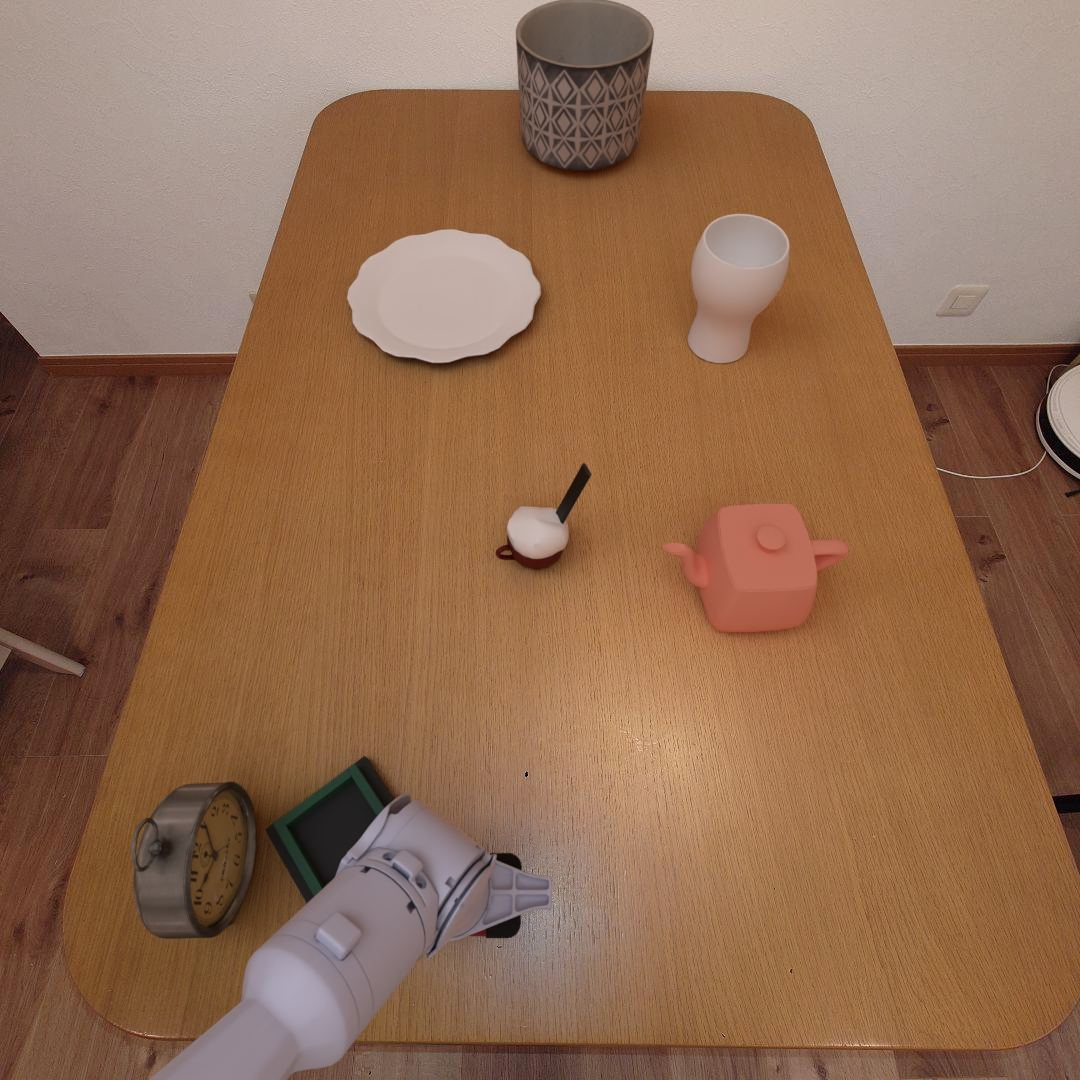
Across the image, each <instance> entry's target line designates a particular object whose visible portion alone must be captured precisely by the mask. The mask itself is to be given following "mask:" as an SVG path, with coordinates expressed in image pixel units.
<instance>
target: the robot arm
mask: <svg viewBox="0 0 1080 1080" xmlns="http://www.w3.org/2000/svg"><path fill="white" fill-rule="evenodd" d="M394 799H395V800H393V801H392V802H391V803H390V804H388V805H387V806H386V807H385V808H384V809H383V810H382V812H381V813H380V814H379V815H378V816H377V817H376V818H375V820H374V821H373V822H372V823H371V825H370V826H369V827H368V828H367V830H366V831H365V832H364V834H363V835H362V837H361V838H360V839H359V840H358V842H357V843H356V844H355V845H354V846H353V847H352V848H351V849H350V850H349V851H348V852H347V854H346V855H345V856H344V857H343V858H342V860H341V862H340V865H339V867H338V870H337V873H336V875H335V878H334V879H333V880H332V881H331V882H329V883H328V884H327V885H326V886H325V887H324V888H323V889H322V890H321V891H320V892H319V893H318V894H317V895H315V896H314V897H313V898H312V899H311V900H310V901H309V902H308V903H306V904H305V905H304V906H302V907H301V908H300V909H299V910H298V911H297V912H296V913H295V914H294V915H293V916H291V918H289V920H287V921H286V922H285V923H284V924H283V925H282V926H281V927H280V928H279V929H278V930H277V931H275V932H274V933H273V934H272V935H271V936H270V937H269V938H268V939H267V940H266V941H265V942H264V943H263V944H262V945H261V946H259V947H258V948H257V949H256V950H255V951H254V952H253V953H252V954H251V956H250V957H249V959H248V961H247V963H246V966H245V970H244V975H243V979H242V990H241V997H240V1002H238V1004H236V1005H235V1006H234V1007H233V1008H232V1009H230V1010H229V1011H228V1012H227V1013H225V1014H224V1016H222V1017H221V1018H219V1020H217V1021H216V1022H215V1023H214V1024H213V1025H212V1026H210V1027H209V1028H208V1029H207V1030H205V1032H203V1033H202V1034H201V1035H200V1036H198V1037H197V1038H196V1039H195V1040H193V1042H191V1043H190V1044H189V1045H188V1046H187V1047H185V1048H184V1049H183V1050H182V1051H181V1052H180V1053H178V1054H177V1055H176V1056H175V1057H174V1058H173V1059H171V1060H170V1061H169V1062H168V1063H167V1064H165V1065H164V1066H163V1067H162V1068H161V1069H159V1070H158V1071H157V1072H156V1073H155V1074H153V1076H151V1077H150V1078H149V1079H148V1080H288V1079H289V1078H290V1077H291V1076H292V1074H294V1073H296V1072H300V1071H306V1070H307V1071H308V1070H316V1069H317V1070H318V1069H325V1068H328V1067H331V1066H333V1065H335V1064H337V1063H338V1062H339V1061H340V1060H341V1059H342V1058H343V1057H344V1056H345V1054H346V1053H347V1052H348V1050H349V1049H350V1048H351V1047H352V1046H353V1044H354V1043H355V1042H356V1040H357V1039H358V1038H359V1037H360V1035H361V1034H362V1033H363V1031H365V1029H366V1028H367V1027H368V1025H369V1024H370V1023H371V1021H373V1019H374V1018H375V1016H376V1015H377V1014H378V1012H379V1011H380V1010H381V1009H382V1008H383V1006H384V1005H385V1004H386V1002H387V1001H388V1000H389V999H390V997H391V996H392V994H394V992H395V991H396V990H397V988H398V987H399V986H400V985H401V984H402V982H403V981H404V980H405V978H406V977H407V976H408V974H409V973H410V972H411V971H412V970H413V968H414V967H415V966H416V964H418V962H419V960H421V959H422V957H423V956H424V955H426V960H431V959H432V958H433V957H434V956H435V955H436V954H437V953H438V952H439V951H440V950H442V948H444V946H445V945H446V944H447V943H448V942H454V941H458V940H461V939H464V938H467V937H470V936H469V935H472V934H474V933H477V932H479V931H482V930H484V929H486V936H485V939H511V938H513V937H516V935H518V933H519V932H520V929H521V924H522V915H524V914H527V913H530V912H533V911H538V910H539V911H540V910H541V911H551V910H552V907H553V902H552V901H553V890H552V889H553V879H552V878H553V877H552V876H548V875H547V876H545V875H537V874H533V873H529V872H527V871H524V870H523V865H522V862H521V860H520V858H519V857H518V856H517V855H516V854H514V853H512V852H490V853H489V852H487V850H486V848H484V846H482V845H481V844H479V843H478V842H477V841H475V840H474V839H473V838H471V837H470V836H469V835H468V834H466V833H465V832H464V831H463V830H461V829H459V828H458V827H457V826H456V825H454V824H453V823H451V822H450V821H449V820H447V819H446V818H445V817H443V816H442V815H441V814H439V813H438V812H437V811H435V810H434V809H433V808H432V807H431V806H429V805H428V804H426V803H425V802H423V801H422V800H421V799H414V800H413V801H412V795H411V794H410V793H409V792H405V793H402V794H401V795H399V796H397V797H396V798H394Z"/></svg>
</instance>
